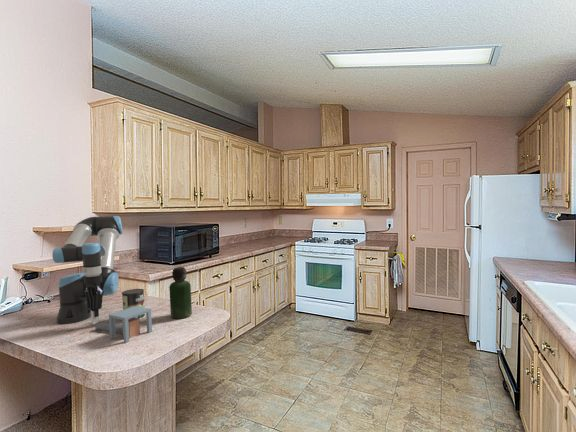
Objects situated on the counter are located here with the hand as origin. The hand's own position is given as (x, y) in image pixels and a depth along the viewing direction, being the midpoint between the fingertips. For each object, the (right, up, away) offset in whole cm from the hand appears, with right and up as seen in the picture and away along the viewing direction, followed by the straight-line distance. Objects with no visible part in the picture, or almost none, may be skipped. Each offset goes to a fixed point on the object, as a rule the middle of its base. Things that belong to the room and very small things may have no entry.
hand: (95, 323), depth 158 cm
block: (+24, -1, -13) cm, 27 cm away
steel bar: (+13, -2, -7) cm, 15 cm away
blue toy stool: (+24, -1, -13) cm, 27 cm away
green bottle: (+38, 0, +11) cm, 40 cm away
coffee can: (+14, -1, +10) cm, 17 cm away
